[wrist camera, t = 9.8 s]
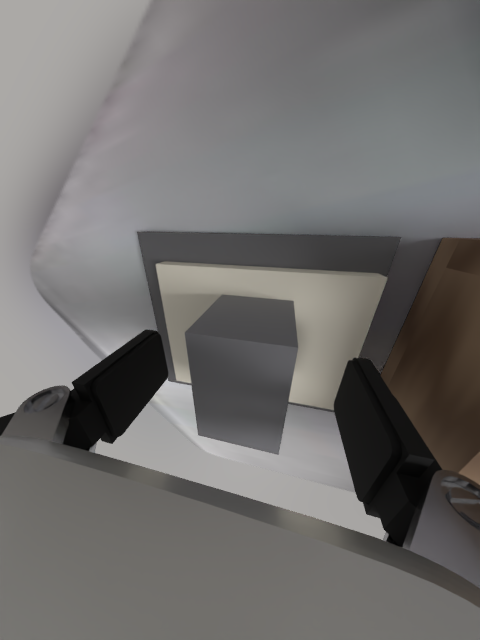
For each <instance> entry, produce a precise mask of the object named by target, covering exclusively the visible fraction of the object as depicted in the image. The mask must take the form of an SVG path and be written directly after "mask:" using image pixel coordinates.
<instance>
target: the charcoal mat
mask: <svg viewBox="0 0 480 640" xmlns="http://www.w3.org/2000/svg"><path fill="white" fill-rule="evenodd" d="M137 233H138V237H139V242H140V247H141V252H142V257H143V261H144V266H145V271H146V276H147V281H148V285H149V290H150V295H151V300H152V305H153V309H154V314H155V319H156V324H157V328H158V333H159V334H160V335H161V338H162V343H163V348H164V353H165V358H166V363H167V367H168V381H171V382H176V383H182V384H187V385H192V384H191V383H187V382H181V381H176V375H175V370H174V364H173V359H172V353H171V348H170V342H169V337H168V331H167V325H166V320H165V314H164V309H163V303H162V298H161V292H160V287H159V281H158V276H157V270H156V264H157V263H161V262H165V261H167V262H185V263H203V264H221V265H239V266H257V267H275V268H292V269H310V270H328V271H346V272H364V273H379V274H381V275H383V276H385V277H387V275H388V272H389V269H390V267H391V264H392V261H393V258H394V256H395V253H396V250H397V247H398V244H399V242H400V239H401V237H380V236H329V235H279V234H228V233H178V232H137ZM288 404H293V405H298V406H304V407H309V408H314V409H320V410H325V411H330V412H334V410H330V409H325V408H320V407H314V406H309V405H304V404H298V403H293V402H288Z"/></svg>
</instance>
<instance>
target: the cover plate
mask: <svg viewBox="0 0 480 640" xmlns="http://www.w3.org/2000/svg"><path fill="white" fill-rule="evenodd" d="M156 270H157V276H158V281H159V287H160V292H161V298H162V303H163V309H164V314H165V320H166V325H167V331H168V337H169V342H170V348H171V353H172V359H173V364H174V370H175V375H176V381H181V382H187V383H191V384H192V392H193V399H194V406H195V414H196V421H197V429H198V435H200V436H204V437H208V438H212V439H216V440H220V441H224V442H228V443H232V444H237V445H241V446H245V447H249V448H253V449H257V450H261V451H265V452H269V453H274V454H278V455H279V449H280V444H281V438H282V433H283V428H284V422H285V417H286V411H287V406H288V402H293V403H298V404H304V405H309V406H314V407H320V408H325V409H330V410H334V401H335V398H336V395H337V392H338V389H339V386H340V383H341V380H342V377H343V374H344V371H345V368H346V365H347V362H348V361H349V360H352V359H353V358H355V357H356V358H359V355H360V352H361V350H362V347H363V344H364V341H365V339H366V336H367V333H368V331H369V328H370V325H371V322H372V320H373V317H374V314H375V312H376V309H377V306H378V303H379V301H380V298H381V295H382V292H383V290H384V287H385V284H386V282H387V279H388V278H387V277H385V276H383V275H381V274H379V273H364V272H346V271H328V270H310V269H292V268H275V267H257V266H239V265H221V264H203V263H185V262H167V261H165V262H161V263H157V264H156Z"/></svg>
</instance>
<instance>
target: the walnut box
mask: <svg viewBox="0 0 480 640" xmlns="http://www.w3.org/2000/svg"><path fill="white" fill-rule="evenodd" d="M380 376H381V377H382V379H383V380H384V382H385V383H386V385H387V387H388V388H389V390H390V391H391V393H392V394H393V395H394V397H395V398H396V399H397V400H398V402H399V403H400V405H401V407H402V408H403V410H404V411H405V413H406V414H407V416H408V417H409V419H410V420H411V422H412V423H413V425H414V427H415V428H416V430H417V431H418V433H419V434H420V436H421V437H422V439H423V440H424V442H425V443H426V445H427V447H428V448H429V450H430V451H431V453H432V454H433V456H434V457H435V459H436V460H437V462H438V463H439V465H440V467H441V468H442V470H449V471H454V472H456V473H459V474H462V475H464V476H466V477H468V478H469V479H471V480H473V481H475V482H476V483H478V484H479V485H480V238H442V240H441V243H440V245H439V247H438V249H437V251H436V254H435V256H434V258H433V260H432V263H431V265H430V267H429V269H428V271H427V274H426V276H425V278H424V280H423V282H422V285H421V287H420V289H419V291H418V293H417V296H416V298H415V300H414V302H413V305H412V307H411V309H410V311H409V313H408V316H407V318H406V320H405V322H404V324H403V327H402V329H401V331H400V333H399V335H398V338H397V340H396V342H395V344H394V347H393V349H392V351H391V353H390V355H389V358H388V360H387V362H386V364H385V366H384V369H383V371H382V373H381V375H380Z"/></svg>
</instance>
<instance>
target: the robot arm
mask: <svg viewBox="0 0 480 640" xmlns="http://www.w3.org/2000/svg"><path fill="white" fill-rule="evenodd" d="M167 377H168V367H167V363H166V358H165V353H164V348H163V343H162V338H161V335H160V334H159V333H158V332H157V331H153V330H144V331H143V332H142V333H140V334H139V335H137V336H136V337H135V338H133V339H132V340H130V341H129V342H128V343H126V344H125V345H123V346H122V347H121V348H119V349H118V350H116V351H115V352H114V353H112V354H111V355H109V356H108V357H107V358H105V359H104V360H102V361H101V362H100V363H98V364H97V365H95V366H94V367H93V368H91V369H90V370H88V371H87V372H86V373H84V374H83V375H81V376H80V377H79V378H78V379H76V380H74V381H73V382H72V384H73V386H74V389H73V390H72V391H70V389H69V388H68V387H66V386H54V387H50V388H47V389H44V390H42V391H40V392H38V393H36V394H34V395H32V396H31V397H29V398H28V399H27V400H25V401H24V402H23V403H22V404H21V405H20V407H19V408H18V409H17V411H16V412H15V413H12V414H9V415H6V416H3V417H0V640H480V485H479V484H478V483H476V482H475V481H473V480H471V479H469V478H468V477H466V476H464V475H462V474H459V473H456V472H454V471H449V470H442V468H441V467H440V465H439V463H438V462H437V460H436V459H435V457H434V456H433V454H432V453H431V451H430V450H429V448H428V447H427V445H426V443H425V442H424V440H423V439H422V437H421V436H420V434H419V433H418V431H417V430H416V428H415V427H414V425H413V423H412V422H411V420H410V419H409V417H408V416H407V414H406V413H405V411H404V410H403V408H402V407H401V405H400V403H399V402H398V400H397V399H396V398H395V397H394V395H393V394H392V393H391V391H390V390H389V388H388V387H387V385H386V383H385V382H384V380H383V379H382V377H381V376H380V374H379V373H378V371H377V369H376V368H375V366H374V365H373V363H372V362H371V360H369V359H363V358H356V357H355V358H353V359H352V360H349V361H348V362H347V365H346V368H345V371H344V374H343V377H342V380H341V383H340V386H339V389H338V392H337V395H336V398H335V401H334V412H335V416H336V420H337V423H338V427H339V431H340V435H341V439H342V442H343V446H344V450H345V454H346V457H347V461H348V465H349V469H350V473H351V476H352V480H353V484H354V488H355V492H356V495H357V498H358V500H359V501H361V502H363V504H364V507H365V511H366V514H367V515H371V516H374V517H378V518H380V519H381V522H382V525H383V528H384V530H385V531H386V533H385V536H384V538H383V540H381V539H378V538H375V537H372V536H369V535H366V534H363V533H360V532H357V531H354V530H350V529H347V528H344V527H341V526H338V525H334V524H332V523H329V522H326V521H322V520H319V519H316V518H313V517H310V516H306V515H303V514H300V513H297V512H293V511H290V510H286V509H283V508H280V507H276V506H273V505H269V504H266V503H263V502H260V501H256V500H253V499H250V498H247V497H243V496H240V495H237V494H233V493H230V492H226V491H223V490H219V489H216V488H213V487H209V486H206V485H202V484H199V483H196V482H193V481H189V480H186V479H182V478H179V477H175V476H172V475H169V474H165V473H162V472H159V471H155V470H152V469H148V468H145V467H142V466H138V465H135V464H131V463H128V462H124V461H121V460H117V459H113V458H110V457H107V456H103V455H100V454H96V453H95V449H96V442H97V441H98V440H99V439H100V438H101V440H102V441H104V442H107V443H111V444H113V442H114V441H115V440H116V438H117V437H119V436H121V435H122V434H123V433H124V432H125V431H126V429H127V428H128V427H129V426H130V424H131V423H132V422H133V420H134V419H135V418H136V417H137V416H138V414H139V413H140V412H141V411H142V409H143V408H144V407H145V406H146V404H147V403H148V402H149V401H150V399H151V398H152V397H153V396H154V394H155V393H156V392H157V391H158V389H159V388H160V387H161V386H162V384H163V383H164V382H165V381H166V379H167Z"/></svg>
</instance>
